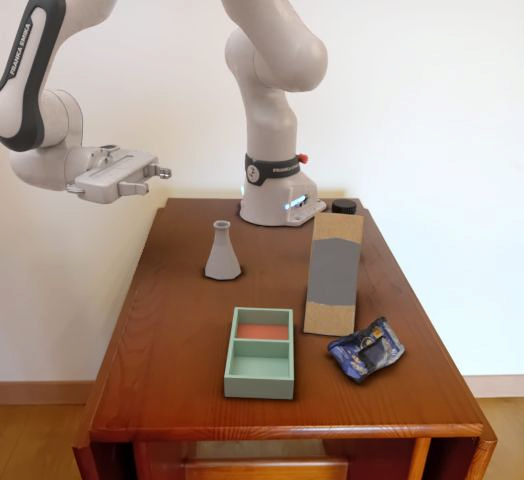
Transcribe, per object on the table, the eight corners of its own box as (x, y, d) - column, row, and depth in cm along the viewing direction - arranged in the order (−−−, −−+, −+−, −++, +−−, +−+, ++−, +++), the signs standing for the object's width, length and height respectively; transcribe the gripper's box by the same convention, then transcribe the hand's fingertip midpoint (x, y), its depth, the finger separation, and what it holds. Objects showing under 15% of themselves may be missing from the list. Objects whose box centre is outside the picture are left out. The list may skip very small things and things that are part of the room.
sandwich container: (301, 332, 89) (308, 249, 80) (308, 288, 101) (314, 211, 92) (354, 337, 88) (366, 253, 79) (354, 291, 100) (364, 214, 91)
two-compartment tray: (234, 324, 90) (234, 307, 88) (291, 327, 90) (292, 309, 88) (224, 396, 75) (224, 377, 73) (292, 399, 75) (293, 380, 73)
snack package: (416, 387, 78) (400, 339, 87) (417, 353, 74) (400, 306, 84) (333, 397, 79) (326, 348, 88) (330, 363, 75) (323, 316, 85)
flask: (236, 282, 102) (236, 233, 96) (199, 278, 103) (197, 229, 97) (245, 265, 108) (245, 218, 102) (210, 262, 109) (208, 214, 103)
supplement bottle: (328, 268, 108) (335, 210, 101) (315, 254, 113) (320, 198, 106) (359, 264, 110) (368, 207, 103) (345, 250, 115) (352, 195, 108)
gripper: (56, 171, 92) (129, 181, 89) (117, 141, 108) (180, 149, 105) (63, 207, 95) (133, 218, 92) (121, 173, 111) (182, 181, 108)
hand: (159, 181), depth 99 cm, fingers open, 8 cm apart
